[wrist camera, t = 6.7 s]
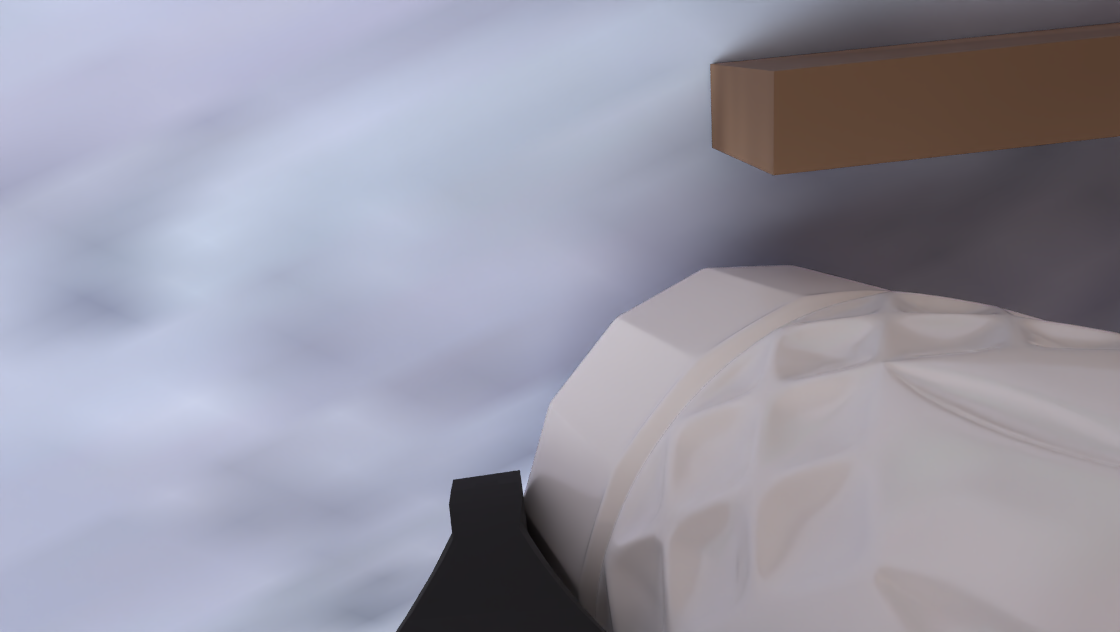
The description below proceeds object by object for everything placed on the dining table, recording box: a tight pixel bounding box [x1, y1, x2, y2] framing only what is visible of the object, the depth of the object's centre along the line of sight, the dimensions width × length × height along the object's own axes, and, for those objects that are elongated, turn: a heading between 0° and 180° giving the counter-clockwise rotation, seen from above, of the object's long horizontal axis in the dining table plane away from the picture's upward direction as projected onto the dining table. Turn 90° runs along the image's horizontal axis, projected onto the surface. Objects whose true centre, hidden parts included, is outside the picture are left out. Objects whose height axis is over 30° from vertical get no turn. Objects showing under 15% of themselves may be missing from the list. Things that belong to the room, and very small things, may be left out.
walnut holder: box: [710, 23, 1120, 175], centre depth 12 cm, size 16×11×4 cm
